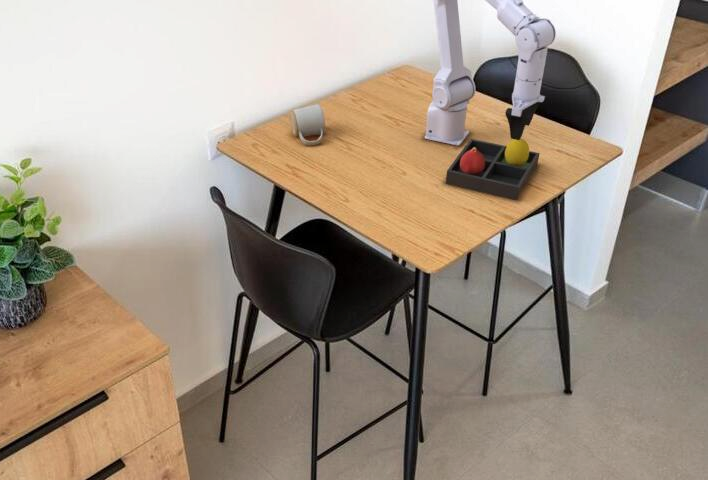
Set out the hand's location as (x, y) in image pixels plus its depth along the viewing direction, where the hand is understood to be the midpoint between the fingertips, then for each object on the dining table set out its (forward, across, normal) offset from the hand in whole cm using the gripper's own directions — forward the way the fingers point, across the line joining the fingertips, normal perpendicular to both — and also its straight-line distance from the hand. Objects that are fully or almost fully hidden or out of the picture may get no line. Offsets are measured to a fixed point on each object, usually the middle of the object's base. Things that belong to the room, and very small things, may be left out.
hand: (520, 131), depth 178 cm
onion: (+10, -8, +8) cm, 15 cm away
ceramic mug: (+11, -6, +53) cm, 54 cm away
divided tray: (+10, -4, +4) cm, 12 cm away
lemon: (+10, 0, 0) cm, 10 cm away
